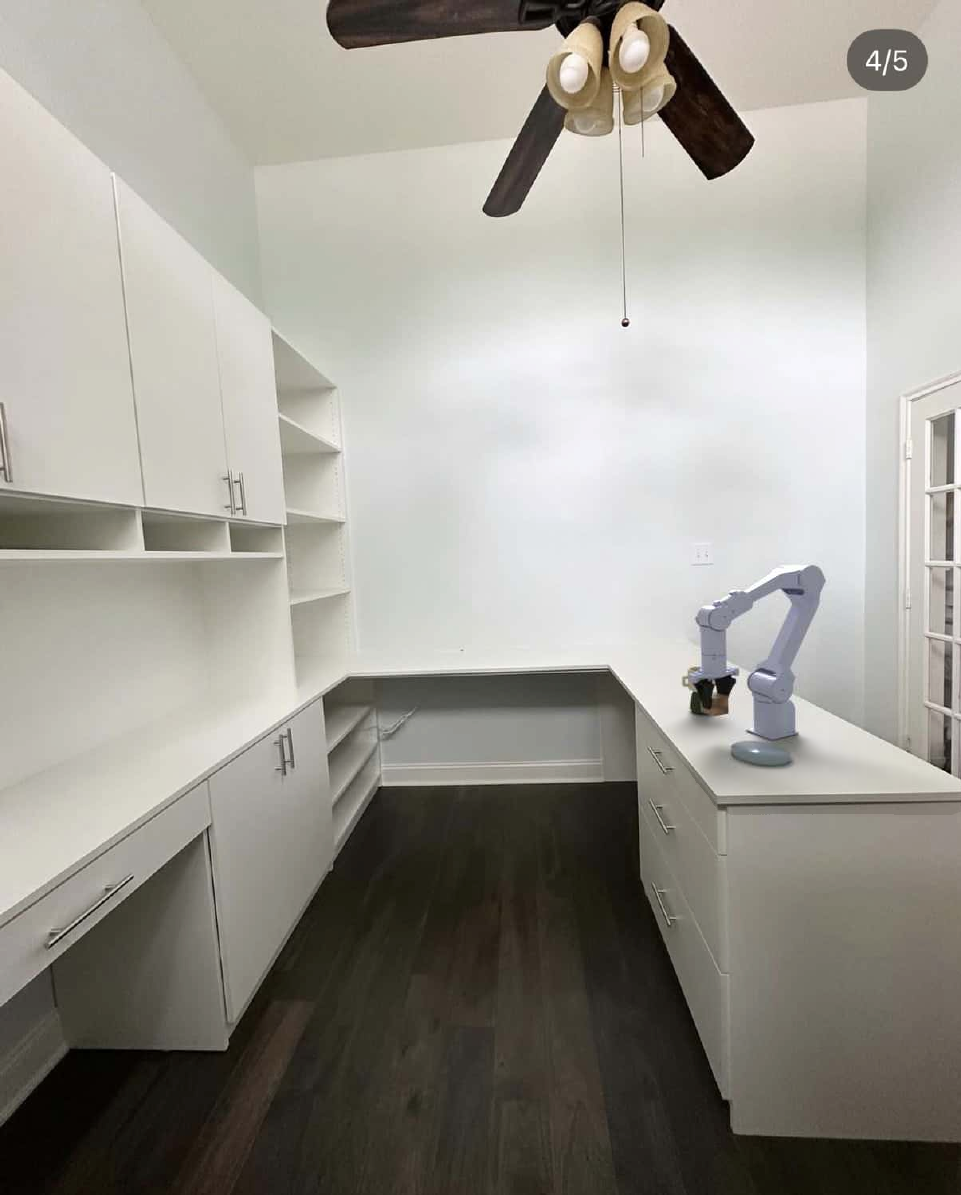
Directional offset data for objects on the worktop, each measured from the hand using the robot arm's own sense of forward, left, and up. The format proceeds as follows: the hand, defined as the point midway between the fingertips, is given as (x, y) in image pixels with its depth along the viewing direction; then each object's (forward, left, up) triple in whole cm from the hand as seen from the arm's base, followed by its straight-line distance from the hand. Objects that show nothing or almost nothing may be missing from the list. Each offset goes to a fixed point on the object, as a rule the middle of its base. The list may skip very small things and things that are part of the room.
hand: (714, 706), depth 126 cm
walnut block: (0, 0, -2) cm, 2 cm away
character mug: (-13, -18, -9) cm, 24 cm away
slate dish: (-1, +12, -8) cm, 15 cm away
